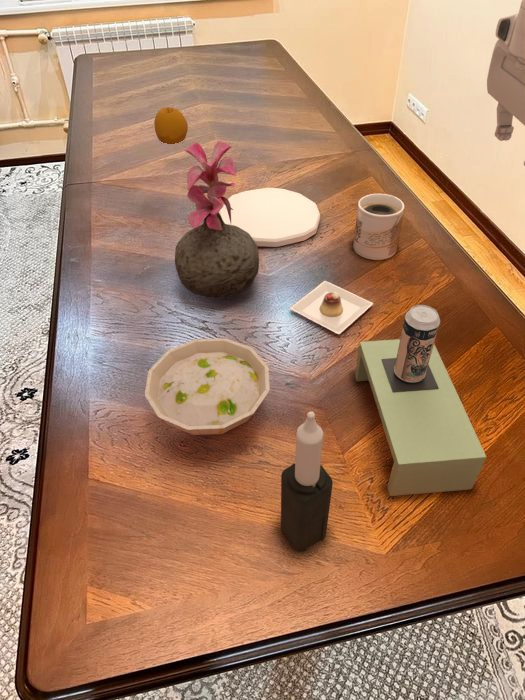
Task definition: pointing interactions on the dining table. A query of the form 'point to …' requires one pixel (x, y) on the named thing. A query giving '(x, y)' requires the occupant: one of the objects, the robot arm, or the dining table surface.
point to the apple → (170, 125)
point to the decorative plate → (273, 216)
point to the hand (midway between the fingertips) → (516, 152)
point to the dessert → (331, 307)
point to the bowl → (207, 385)
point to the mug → (378, 226)
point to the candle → (306, 490)
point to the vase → (214, 234)
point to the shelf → (421, 424)
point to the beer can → (416, 343)
